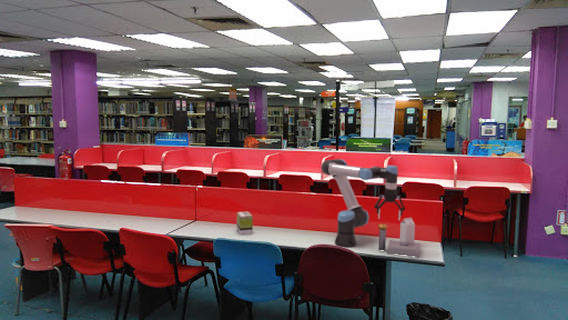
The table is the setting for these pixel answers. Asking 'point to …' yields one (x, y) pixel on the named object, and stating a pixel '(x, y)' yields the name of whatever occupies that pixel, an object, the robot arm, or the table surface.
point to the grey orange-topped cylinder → (382, 236)
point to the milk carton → (407, 230)
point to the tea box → (244, 223)
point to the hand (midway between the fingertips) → (389, 219)
